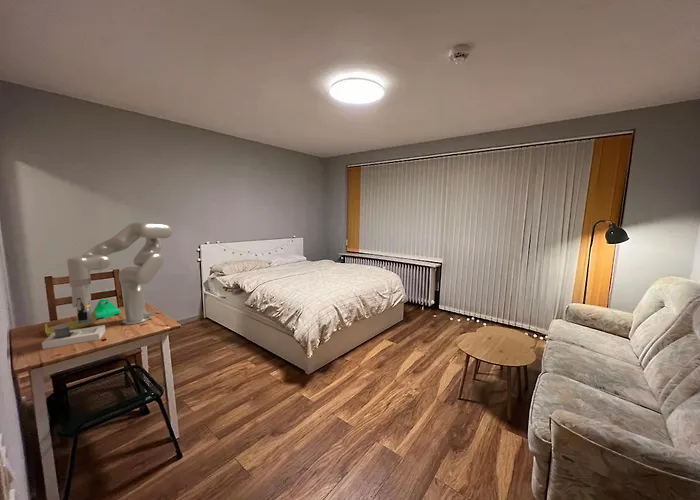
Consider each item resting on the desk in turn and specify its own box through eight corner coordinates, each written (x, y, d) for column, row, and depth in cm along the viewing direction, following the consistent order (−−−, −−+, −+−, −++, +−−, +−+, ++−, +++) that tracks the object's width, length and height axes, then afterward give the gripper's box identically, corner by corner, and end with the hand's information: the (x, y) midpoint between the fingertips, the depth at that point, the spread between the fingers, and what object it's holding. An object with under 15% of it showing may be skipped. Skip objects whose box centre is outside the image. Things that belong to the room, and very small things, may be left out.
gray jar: (80, 320, 142) (78, 305, 141) (93, 319, 144) (91, 303, 143) (76, 324, 137) (74, 308, 136) (90, 322, 140) (88, 306, 139)
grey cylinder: (72, 338, 141) (70, 322, 140) (69, 342, 137) (66, 326, 136) (58, 340, 139) (56, 324, 138) (54, 344, 135) (52, 328, 133)
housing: (105, 331, 150) (104, 325, 150) (99, 340, 140) (98, 333, 139) (53, 339, 140) (52, 333, 140) (42, 350, 130) (41, 343, 130)
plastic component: (45, 334, 141) (44, 321, 147) (49, 344, 145) (48, 331, 150) (97, 321, 154) (95, 309, 160) (100, 330, 158) (97, 318, 164)
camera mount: (96, 320, 165) (94, 303, 164) (92, 317, 170) (90, 301, 168) (121, 314, 175) (119, 298, 174) (117, 311, 179) (115, 296, 178)
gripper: (76, 279, 144) (80, 314, 146) (63, 287, 129) (68, 325, 131) (95, 278, 147) (99, 311, 150) (85, 285, 133) (89, 322, 135)
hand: (84, 317), depth 141 cm, fingers closed on gray jar, 4 cm apart
